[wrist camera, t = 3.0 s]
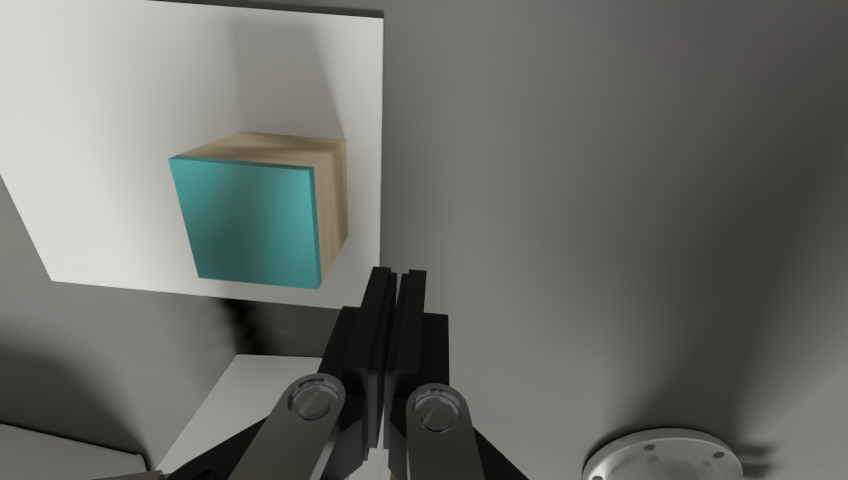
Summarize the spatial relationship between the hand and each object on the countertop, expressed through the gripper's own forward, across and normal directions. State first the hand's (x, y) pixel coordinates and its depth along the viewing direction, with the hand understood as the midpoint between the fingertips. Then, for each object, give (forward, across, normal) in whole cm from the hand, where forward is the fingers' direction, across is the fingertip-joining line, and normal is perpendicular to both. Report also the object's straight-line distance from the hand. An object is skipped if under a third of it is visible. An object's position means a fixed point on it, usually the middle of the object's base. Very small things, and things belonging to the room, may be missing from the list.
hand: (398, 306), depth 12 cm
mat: (+12, +14, +1) cm, 19 cm away
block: (+11, +7, +1) cm, 13 cm away
